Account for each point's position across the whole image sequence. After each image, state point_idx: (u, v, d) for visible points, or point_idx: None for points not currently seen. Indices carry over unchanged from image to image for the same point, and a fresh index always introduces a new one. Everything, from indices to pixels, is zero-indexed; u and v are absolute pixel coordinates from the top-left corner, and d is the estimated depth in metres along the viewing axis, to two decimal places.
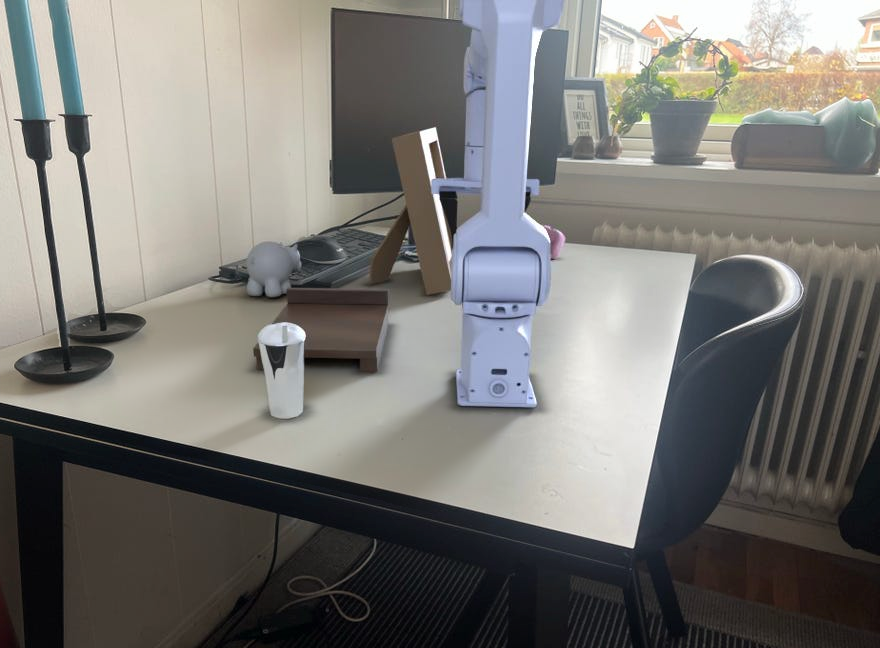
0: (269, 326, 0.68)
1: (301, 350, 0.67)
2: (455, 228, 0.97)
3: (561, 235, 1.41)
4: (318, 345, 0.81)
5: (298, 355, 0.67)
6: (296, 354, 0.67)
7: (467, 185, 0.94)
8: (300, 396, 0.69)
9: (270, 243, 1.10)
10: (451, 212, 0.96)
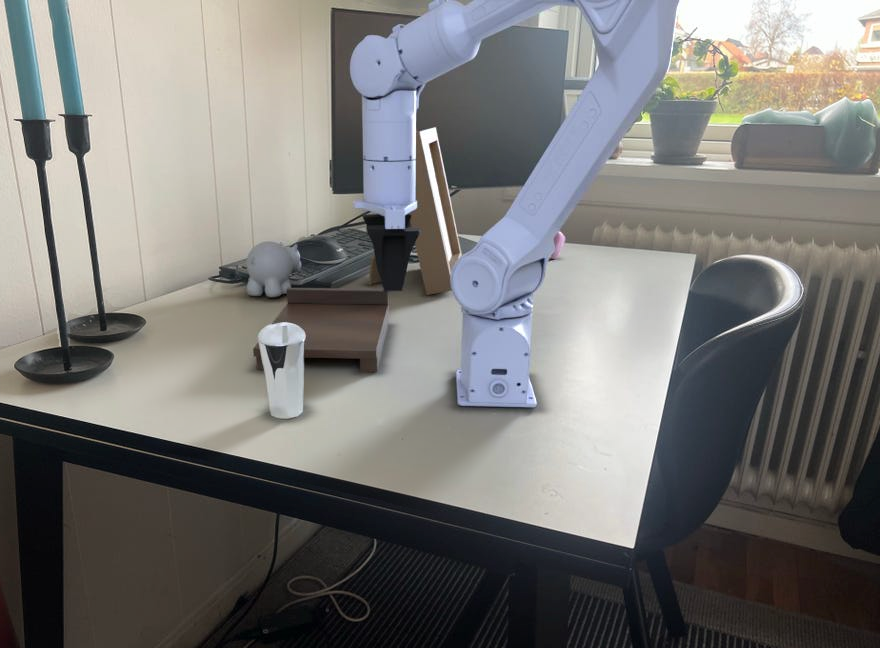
0: (269, 326, 0.68)
1: (301, 350, 0.67)
2: None
3: (561, 235, 1.41)
4: (318, 345, 0.81)
5: (298, 355, 0.67)
6: (296, 354, 0.67)
7: (413, 208, 0.76)
8: (300, 396, 0.69)
9: (270, 243, 1.10)
10: None
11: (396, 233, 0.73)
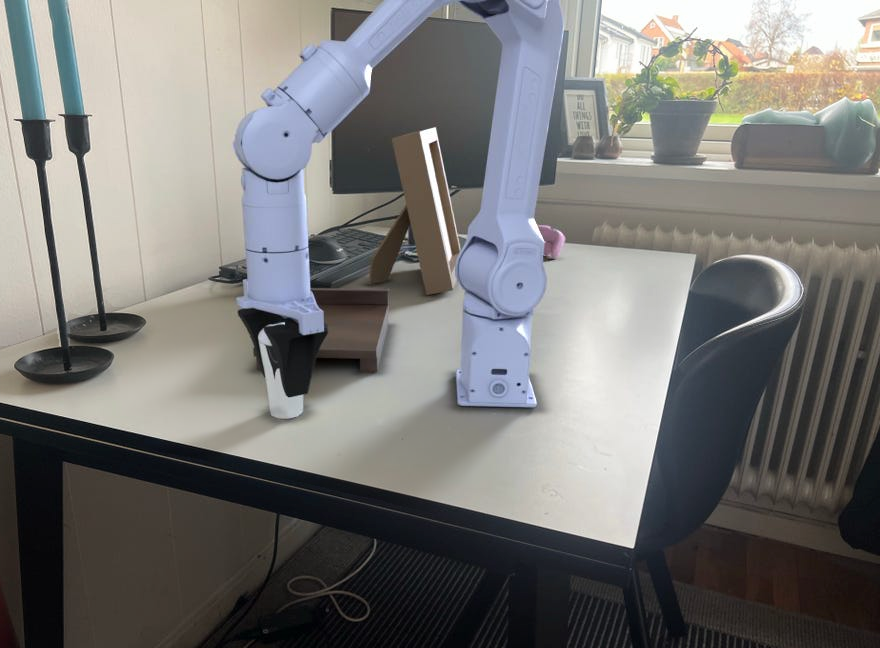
0: None
1: None
2: None
3: (561, 235, 1.41)
4: None
5: None
6: None
7: None
8: (300, 396, 0.69)
9: None
10: None
11: None
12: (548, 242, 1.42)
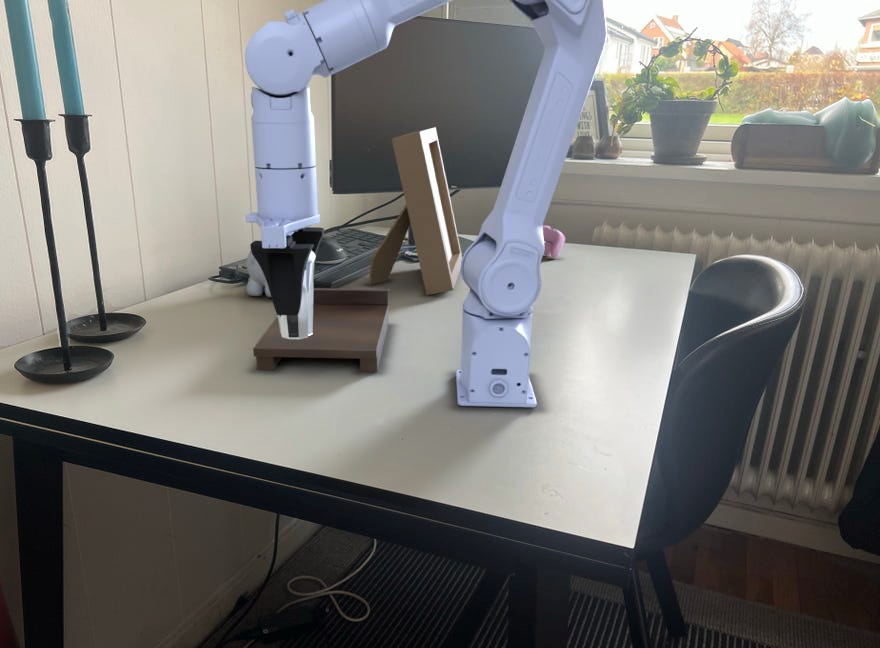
0: None
1: None
2: (302, 286, 0.67)
3: (561, 235, 1.41)
4: (318, 345, 0.81)
5: None
6: None
7: (308, 224, 0.66)
8: (302, 320, 0.70)
9: None
10: (305, 264, 0.66)
11: (281, 250, 0.64)
12: (548, 242, 1.42)
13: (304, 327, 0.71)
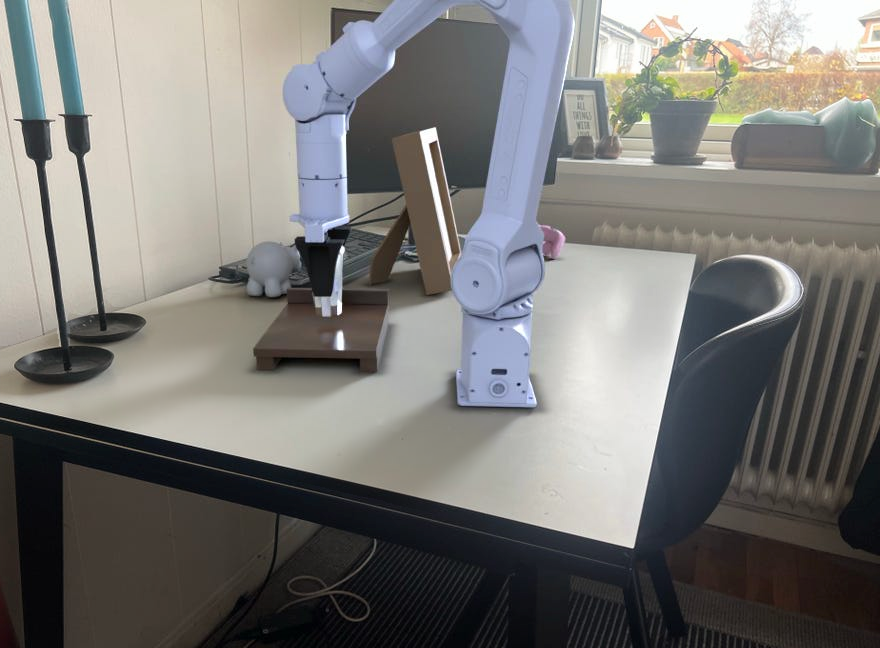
0: None
1: None
2: (334, 273, 0.84)
3: (561, 235, 1.41)
4: (318, 345, 0.81)
5: None
6: None
7: (340, 223, 0.82)
8: (333, 301, 0.87)
9: (270, 243, 1.10)
10: None
11: (319, 244, 0.80)
12: (548, 242, 1.42)
13: (335, 307, 0.87)
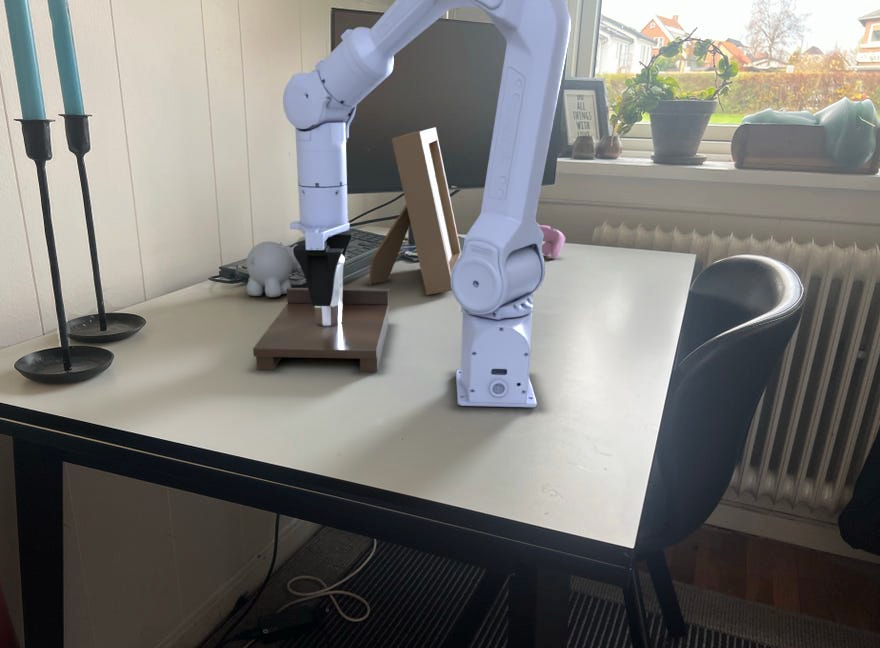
0: None
1: None
2: (333, 282, 0.83)
3: (561, 235, 1.41)
4: (318, 345, 0.81)
5: None
6: None
7: (341, 230, 0.82)
8: (334, 310, 0.87)
9: (270, 243, 1.10)
10: None
11: (318, 253, 0.80)
12: (548, 242, 1.42)
13: (335, 316, 0.88)
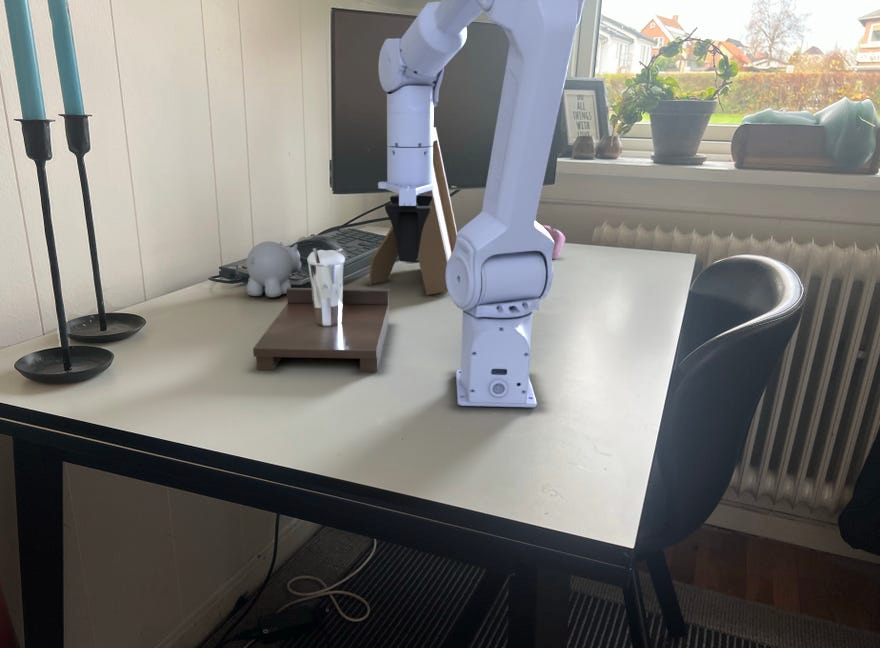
0: (318, 250, 0.87)
1: (333, 272, 0.85)
2: None
3: (561, 235, 1.41)
4: (318, 345, 0.81)
5: (330, 275, 0.85)
6: (328, 274, 0.85)
7: (428, 189, 0.87)
8: (334, 310, 0.87)
9: (270, 243, 1.10)
10: None
11: (409, 210, 0.84)
12: None
13: (335, 316, 0.88)
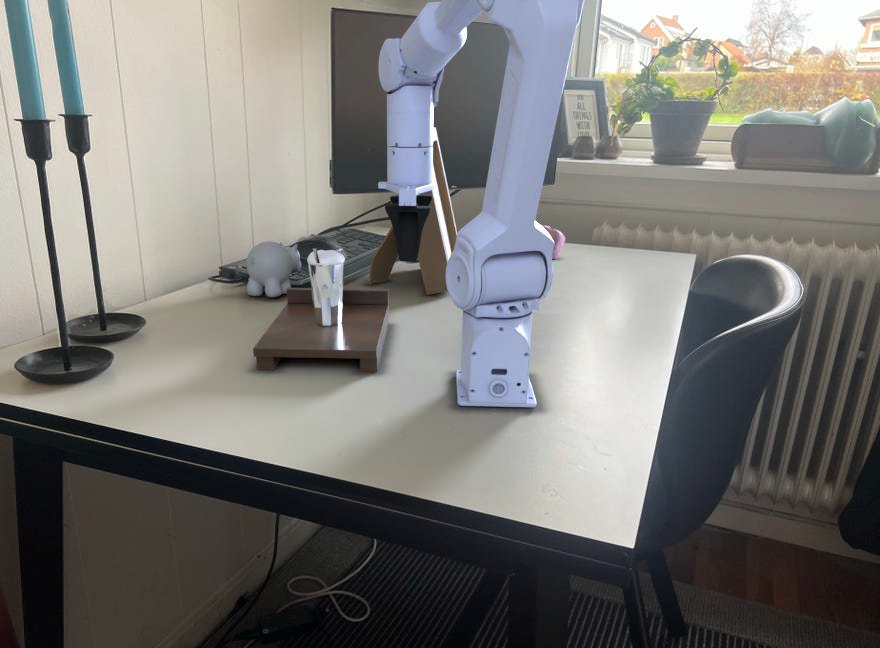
0: (318, 250, 0.87)
1: (333, 272, 0.85)
2: None
3: (561, 235, 1.41)
4: (318, 345, 0.81)
5: (330, 275, 0.85)
6: (328, 274, 0.85)
7: (428, 189, 0.87)
8: (334, 310, 0.87)
9: (270, 243, 1.10)
10: None
11: (409, 210, 0.84)
12: None
13: (335, 316, 0.88)
